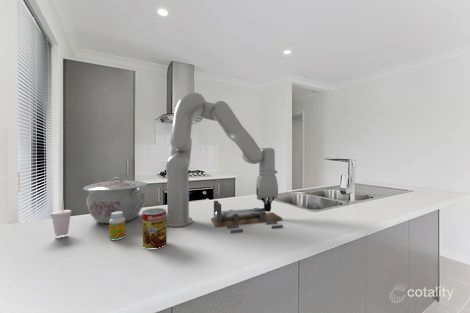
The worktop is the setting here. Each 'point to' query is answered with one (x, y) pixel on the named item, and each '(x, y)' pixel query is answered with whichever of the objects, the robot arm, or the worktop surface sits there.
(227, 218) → the tube
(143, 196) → the chamber pot
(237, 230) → the set of grey slats
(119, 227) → the supplement bottle
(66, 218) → the smoothie
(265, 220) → the brown board
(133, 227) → the worktop surface
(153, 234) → the canned food
